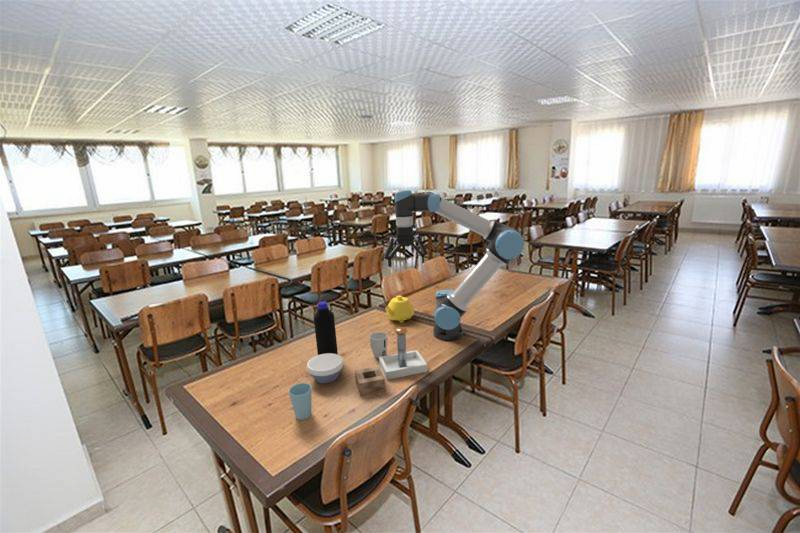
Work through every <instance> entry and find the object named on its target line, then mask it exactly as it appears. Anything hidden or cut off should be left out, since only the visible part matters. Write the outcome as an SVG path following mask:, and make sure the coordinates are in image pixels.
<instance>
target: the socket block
mask: <svg viewBox="0 0 800 533" xmlns="http://www.w3.org/2000/svg"><path fill="white" fill-rule="evenodd" d="M354 375H355V376H354V378H355V379H354V380H355V384H356V387H357V390H358V393H359V396H364V395H368V394H373V393H378V392H384V391H386V380H385V379H386V377H385V375H384V373H383V371H382V368H381V366H380V365H378V366H372V367H367V368H361V369H357V370H354Z"/></svg>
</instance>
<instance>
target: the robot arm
mask: <svg viewBox="0 0 800 533" xmlns="http://www.w3.org/2000/svg"><path fill="white" fill-rule="evenodd" d="M394 207H395V208H394V209H395V210H394V211H395V225H396V227H395V228H396V230H395V231H396V237H392V236H391V237H389V241H388V242H389V243H388V245H387V247H386V250H385V251H384V255H383V258H384V260H387V266H388V267H389V268H390V274H391V275H395V271H394V260H393V258H394V257H395V255H396V253H397V252H398V251H399V250H400V249H401V248H406V247H410V246H411V247H412V248H413V249H414V251H415V252H417V253H418V254H419V255H418V271H420V272H422V271H423V264H424V263H425V257H426V256H427V255H428V251H427V249H426V247H425V246H424V243H423V241H422V239H421V237H422V236H421V235H419V234H416V235H414V216H413V213H416V212H417V213H419V212H420V213H421V212H422V213H423V212H427V213H428V212H429V213H430V212H431V213H435V214H437V215H439V216H441V217H443V218H445V219H448V220H449V221H451V222H454V223H456V224H457V225H459V226H462V227H464V228H466V229H468V230H470V231H472V232H474V233H476V234H478V235H480V236H482V237H483V239H484V240H485V241H488V242H489V244H488V245H487V246H486V247H485V251H486V253H485V254H484V255H483V256H482V257H481V258H480V260H479V261H478V262H477V264H476V265H475V266H474V267H473V268H472V270H471V271H470V272H469V273H468V275H467V276H466V277H465V278H464V279H463V280H462V281H461V283H460V284H459V285H458V286H457V287H456V288H455V289H440V290H438V291H436V292H435V308H434V313H433V317H434V321H435V323H434V326H433V329H432V332H433V334H432V335H433V336H434V337H435V338H436V339H439V340H442V341H454V340H458V339H461V338H462V337H463V336H464V329H463V325H462V323H461V319H462V317H463V316H464V315H465V314H466V313H467V312H468V310H469V309H468V305H469V304H470V303H471V302H472V301H473V300H474V299H475V297H476V296H477V295H478V294H479V293H480V291H481V290H482V289H483V288H484V287H485V286H486V284H487V283H488V282H489V281H490V279H492V277H494V276H495V274H496V273H497V272H498V271H499V269H501V267H503V266H507V265H509V264H510V262H511V261H512V260H513V259H516V258H518V257H519V256H520V255H521V254H522V252H523V251H524V248H525V242H524V238H523V236H522V234H521V233H520V232H518V231H517V229H515V227H512V226H509V225H508V224H507V225H506V224H504V223H501V222H499V221H497V220H489V219H486V218H485V217H483V216H480V214H479V215H478V214H476V213H474V212H472V211H470V210H468V209H466V208H464V207H462V206H460V205H458V204H455V203H454V202H452V201H449V200H447V199H446V198H443V197H442V196H441V197H440V194H438V193H434V192H432V191H426V192H424V193H422V194H413V193H412V190H411V189H403V190H402V189H401V190H400V189H399V190H396V191H395V193H394ZM414 240H415V241H416V242H417V243H418V245H419V248H420V249H421V250H420V249H419V248H418V246H416V244H415V243H414ZM395 242H397V243H396V244H395V246H394V243H395ZM393 246H394V248H393ZM392 249H393V250H392Z"/></svg>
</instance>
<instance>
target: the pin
mask: <svg viewBox="0 0 800 533" xmlns="http://www.w3.org/2000/svg"><path fill="white" fill-rule="evenodd" d="M394 331H395V332H394V333H395V334H396V341H397V342H396V344H397V345H396V346H397V347H396V348H397V353H398V366H399V368H402V367H407V358H406V352H407V341H406V333H407V332H408V330H407V327H404V326H399V327H396V328H395V329H394Z"/></svg>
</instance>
